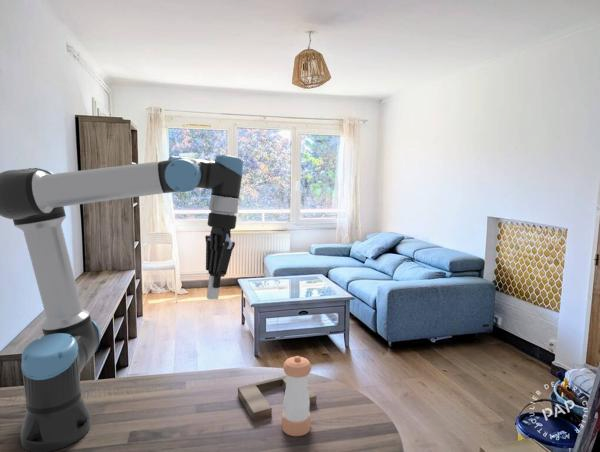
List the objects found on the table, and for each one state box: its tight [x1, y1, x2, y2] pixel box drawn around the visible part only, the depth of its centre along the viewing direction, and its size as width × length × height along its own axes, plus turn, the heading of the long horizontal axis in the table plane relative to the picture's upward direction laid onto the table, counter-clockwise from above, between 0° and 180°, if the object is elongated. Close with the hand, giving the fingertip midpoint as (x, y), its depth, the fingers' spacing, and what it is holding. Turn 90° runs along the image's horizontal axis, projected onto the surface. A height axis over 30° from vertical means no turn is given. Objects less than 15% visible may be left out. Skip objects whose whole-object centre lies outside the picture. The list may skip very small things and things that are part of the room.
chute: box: [237, 375, 317, 422], centre depth 120 cm, size 13×18×2 cm
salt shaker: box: [281, 355, 312, 437], centre depth 106 cm, size 7×7×19 cm
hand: (212, 298), depth 116 cm, fingers closed
